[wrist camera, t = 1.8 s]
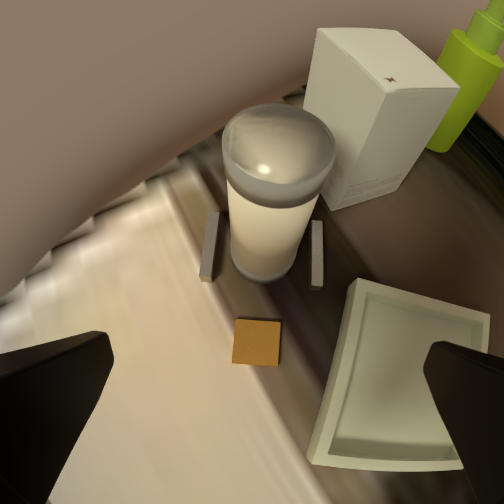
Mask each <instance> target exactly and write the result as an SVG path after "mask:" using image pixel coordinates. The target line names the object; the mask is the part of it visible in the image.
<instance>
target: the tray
mask: <svg viewBox="0 0 504 504" xmlns="http://www.w3.org/2000/svg"><path fill="white" fill-rule="evenodd" d="M489 326H490V314H486V313H483V312H479V311H475V310H472V309H468V308H465V307H461V306H458V305H454V304H451V303H447V302H443V301H440V300H436V299H433V298H429V297H426V296H422V295H418V294H415V293H411V292H408V291H404V290H400V289H397V288H393V287H390V286H386V285H382V284H379V283H375V282H372V281H368V280H364V279H361V278H357V279H356V280H355V281H354V282H352V283H351V284H350V285H349V286H348V290H347V295H346V301H345V306H344V311H343V316H342V321H341V325H340V330H339V335H338V339H337V343H336V348H335V352H334V356H333V360H332V365H331V369H330V373H329V377H328V380H327V384H326V388H325V392H324V395H323V399H322V403H321V406H320V410H319V413H318V417H317V420H316V423H315V427H314V430H313V433H312V436H311V440H310V443H309V446H308V449H307V452H306V455H305V456H306V458H307V459H308V460H309V461H310V462H311V464H317V465H324V466H331V467H340V468H350V469H361V470H376V471H444V470H458V469H463V465H462V462H461V460H460V458H459V456H458V453H457V451H456V449H455V447H454V444H453V442H452V440H451V438H450V436H449V434H448V431H447V429H446V427H445V425H444V423H443V421H442V419H441V417H440V415H439V413H438V410H437V408H436V405H435V403H434V400H433V397H432V395H431V392H430V389H429V387H428V384H427V381H426V379H425V376H424V373H423V365H424V362H425V359H426V357H427V354H428V352H429V349H430V347H431V345H432V343H434V342H437V341H447V342H450V343H454V344H457V345H460V346H464V347H467V348H470V349H473V350H477V351H480V352H483V353H487V351H488V340H489Z"/></svg>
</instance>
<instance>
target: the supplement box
mask: <svg viewBox="0 0 504 504" xmlns="http://www.w3.org/2000/svg"><path fill="white" fill-rule="evenodd" d="M459 90H460V87H459V86H458V84H457V83H456V82H454V81H453V80H452V79H451V78H450V77H449V76H448V75H447V74H446V73H445V72H444V71H443V70H442V69H441V68H440V67H439V66H438V65H437V64H435V63H434V62H433V61H432V60H431V59H430V58H429V57H428V56H427V55H425V54H424V53H423V52H422V51H421V50H420V49H418V48H417V47H416V46H415V45H414V44H412V43H411V42H410V41H409V40H407V39H406V38H405V37H404V36H402V35H401V34H400V33H399V32H398V31H394V30H386V29H371V28H318V29H317V35H316V40H315V46H314V51H313V57H312V62H311V68H310V73H309V78H308V84H307V89H306V94H305V100H304V105H303V109H304V110H306V111H308V112H310V113H312V114H313V115H315V116H316V117H318V118H319V119H320V120H321V121H323V122H324V123H325V124H326V126H327V127H328V128H329V129H330V131H331V133H332V134H333V137H334V139H335V142H336V157H335V161H334V163H333V166H332V168H331V171H330V174H329V176H328V179H327V181H326V184H325V186H324V188H323V189H322V191H321V192H320V193H321V195H322V196H323V198H324V200H325V202H326V204H327V205H328V207H329V209H330V211H335V210H338V209H342V208H345V207H348V206H351V205H354V204H358V203H360V202H363V201H367V200H370V199H373V198H376V197H379V196H382V195H385V194H389V193H391V192H394V191H396V190H397V189H398V187H399V186H400V184H401V183H402V181H403V180H404V178H405V177H406V175H407V174H408V172H409V171H410V169H411V168H412V166H413V165H414V163H415V162H416V160H417V159H418V157H419V156H420V154H421V153H422V151H423V149H424V148H425V146H426V145H427V143H428V142H429V140H430V139H431V137H432V135H433V134H434V132H435V131H436V129H437V127H438V126H439V124H440V122H441V121H442V119H443V117H444V116H445V114H446V112H447V111H448V109H449V107H450V106H451V104H452V102H453V100H454V99H455V97H456V95H457V94H458V92H459Z"/></svg>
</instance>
